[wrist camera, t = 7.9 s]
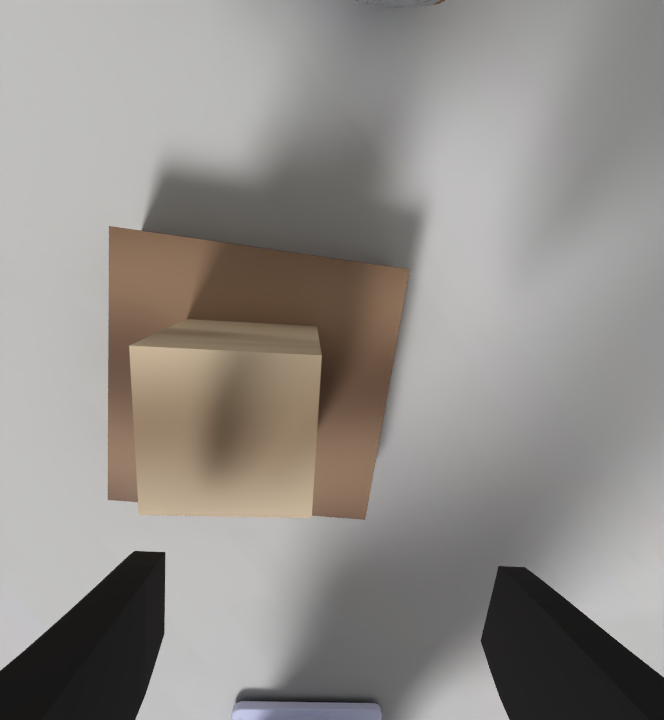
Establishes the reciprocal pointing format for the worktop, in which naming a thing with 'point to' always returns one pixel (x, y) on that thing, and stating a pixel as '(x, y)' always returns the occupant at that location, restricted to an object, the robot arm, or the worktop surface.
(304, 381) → the oak cube
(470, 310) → the worktop surface
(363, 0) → the ceramic mug
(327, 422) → the walnut block
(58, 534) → the worktop surface
